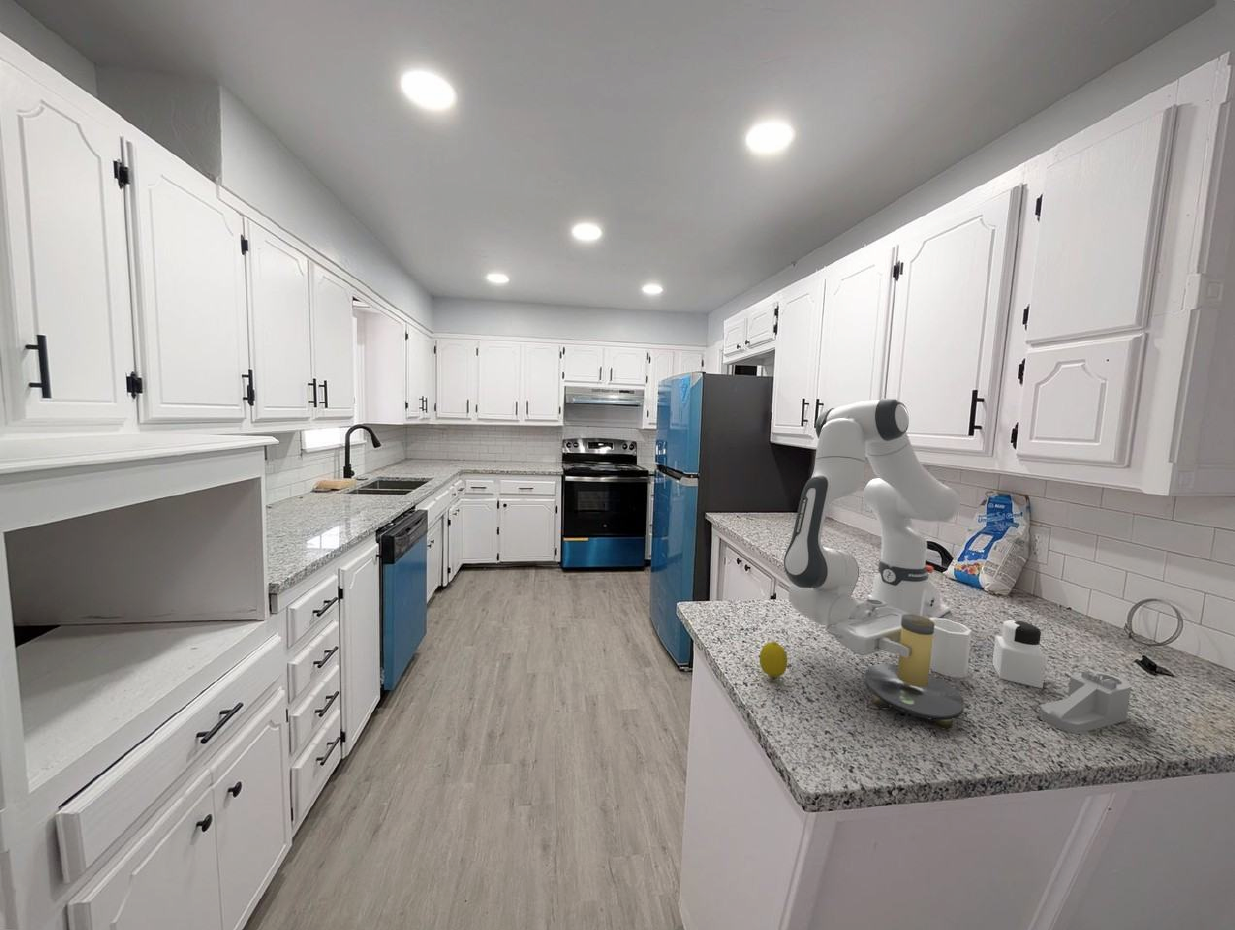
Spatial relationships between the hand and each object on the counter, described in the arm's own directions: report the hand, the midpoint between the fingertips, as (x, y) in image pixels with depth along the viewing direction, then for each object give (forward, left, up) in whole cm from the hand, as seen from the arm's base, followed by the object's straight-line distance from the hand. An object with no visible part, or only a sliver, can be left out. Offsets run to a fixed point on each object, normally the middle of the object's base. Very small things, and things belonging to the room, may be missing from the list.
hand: (920, 649), depth 84 cm
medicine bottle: (-33, +2, -12) cm, 35 cm away
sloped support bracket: (-28, +15, -12) cm, 34 cm away
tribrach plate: (0, -1, -12) cm, 12 cm away
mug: (-20, -7, -12) cm, 24 cm away
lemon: (+18, -19, -12) cm, 29 cm away
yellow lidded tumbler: (0, -1, -6) cm, 7 cm away
